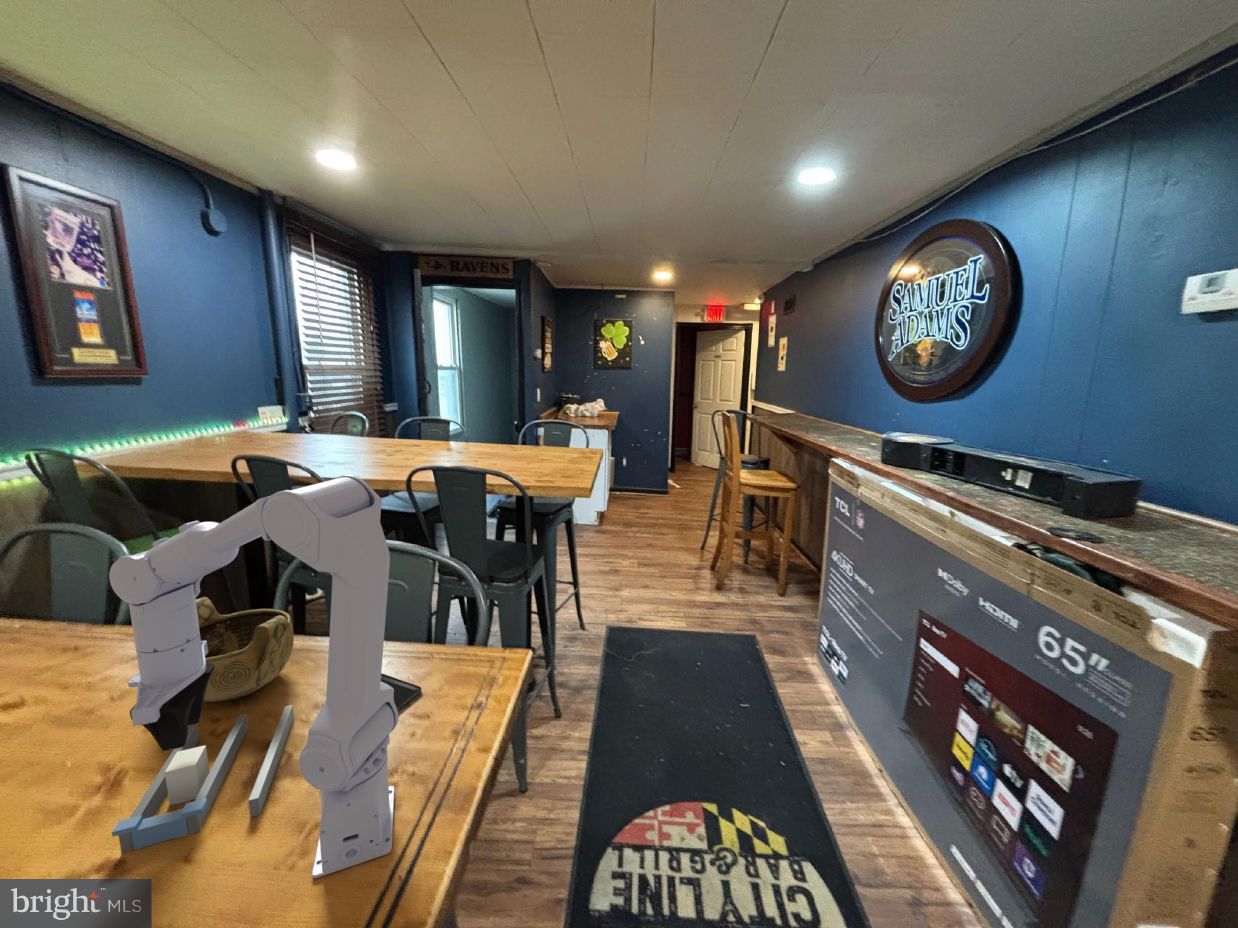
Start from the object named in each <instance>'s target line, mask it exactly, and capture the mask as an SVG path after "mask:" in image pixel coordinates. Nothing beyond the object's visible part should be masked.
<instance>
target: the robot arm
mask: <svg viewBox="0 0 1238 928" xmlns="http://www.w3.org/2000/svg"><path fill="white" fill-rule="evenodd" d="M381 509H382V498H381V497H380V495H379V494H378V493H376V491H375V490H374V489H373V488H372V487H371V486H370V485H369V484H368V483H367V482H366V481H365V480H364V479H362V478H360V477H359V476H356V475H351V474H344V475H340V476H337V477H335V478H334V479H333V478H332V479H330V480H326V481H322V482H318V483H314V484H311V485H307V486H303V487H298V488H295V489H291V490H290V489H285V490H282V491H281V490H280V491H277V492H275V493H273V494H271V495H269V496H265V497H262V498H259V499H256V501H255V502H253V503H252V504H250V505H248V506H247V507H245V508H243V509H242V510H240V511H238V512H237V513H235V514H233V515H232V516H230V517H229V518H227V519H225V520H223V521H222V522H218V521H217V522H216V521H203V522H200V521H199V520H195V521H191V522H187V523H184V524H182V525H180V526H179V527H178V531H179V533H176V534H175V535H173V536H172V537H164V538H161V539H160V538H159V539H157V540H156V541H154V542H153V543H152V547H151V548H149V550H146V551H142V552H139V553H135V554H129V555H123V556H120V557H118V559H117V560H116V561H115V562H114V563H112V565H111V567H110V570H109V574H108V575H109V583H110V586H111V588H112V590H113V592H114V593H115V594H116V596H118V597H119V599H121V600H122V601H124V602H125V603H128V607H129V613H130V621H131V627H132V632H133V639H134V646H135V652H136V658H137V665H138V666H137V667H138V671H139V673H136V674H135V675H133V676H132V677H130V678H131V679H129V681H127V686H128V688H135V687H137V693H136V694H137V695H136V702H135V704H134V705H133V706H132V708H131V709H130V710H129V717H130V719H131V721H132V726H133V727H137V726H142V727H144V728H145V729H146V730H147V731H148V732H149V733H150V735H152V738H153V739H154V740H155V742H156V743H157V745H158V746H159V748H160V749H161V750H162V752H166V751H170V750H171V751H173V750H174V749H176V748H181V747H183V746H184V745H185V743H186V740H187V736H188V727H189V726H192V725H198V724H199V722H200V721H201V718H202V713H203V708H204V702H205V701H204V697H205V692H206V688H207V685H208V682H209V679H210V677H211V675H212V673H213V671H214V669H215V665H214V664H212V663H209V664H206V660H205V656H206V654H207V653H208V647H207V641H201V639H200V631H199V623H198V615H197V607H196V599H197V597H198V596H199V595H200V593H201V587H200V586H201V581H202V580H203V578H204V576H207V575H208V574H211V573H213V572H215V571H217V570H219V569H221V568H223V567H225V566H227V565H229V564H230V563H231V562H233V561H234V560H235V558H236V557H237V556H238V554H239V551H240V547H241V546H243V545H246V544H248V543H249V542H252V541H254V540H256V539H258V538H260V537H262V539H263V540H264V541H267V542H268V541H271V540H272V542H274V543H275V544H276V545H277V546H279V547H280V548H281V549H283V550H284V551H285V552H288V553H289V554H290V555H292V556H294V557H295V558H297V559H298V560H300V561H301V562H303V563H305V564H306V565H308V567H310V568H312V569H314V570H315V571H317V572H323V573H328V574H330V576H331V577H332V578H331V579H332V580H331V582H332V583H331V601H330V619H329V620H330V621H329V622H330V623H329V640H328V657H327V658H328V660H327V661H328V662H327V679H326V694H325V696H326V700H325V701H324V703H323V705H322V707H321V708H320V709H319V712H318V713H317V715H316V717H315V718H314V720H313V722H312V723H311V724H310V727H309V729H308V731H307V732H308V733H307V741H306V744H305V746H304V747H303V748H302V750H301V752H300V754H299V759H298V760H299V761H298V762H299V763H298V764H299V767H300V772H301V775H302V776H303V778H304V779H305V781H306V782H307V783H308V784H309V785H310V786H312V787H314V789H317V790H319V791H320V792H319V793H320V804H321V819H320V822H319V829H318V832H319V837H318V843H317V848H316V853H315V856H314V862H313V867H312V872H311V876H312V878H314V879H318V878H320V877H323V876H326V875H329V874H331V873H334V872H338V871H341V870H344V869H347V868H349V867H353V866H356V865H358V864H362V863H364V862H367V861H370V860H373V859H376V858H379V857H382V856H385V855H388V854H389V853H390V852H391V851H392V847H393V828H394V827H393V826H394V811H395V810H394V809H395V786H394V785H389V768H388V767H389V765H388V750H387V749H388V746H389V745H390V734H391V733H392V732H394V729H396V727H397V725H398V723H399V713H398V710H397V708H396V705H395V703H394V689H393V688H392V687H391V686H389V685H387V684H386V683H383V682H381V673H382V668H383V658H384V657H383V656H384V641H385V631H386V630H385V628H386V618H387V602H388V590H389V578H390V577H389V576H390V564H391V563H390V562H391V557H390V555H391V554H390V550H389V547H388V543H387V540H386V536H385V533H384V530H383V527H382V524H381V511H382V510H381Z"/></svg>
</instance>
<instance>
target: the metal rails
mask: <svg viewBox="0 0 1238 928" xmlns="http://www.w3.org/2000/svg"><path fill="white" fill-rule="evenodd" d="M294 719H295V716H294V705H293V704H291V705H286V706H285V707H284V709H283V712H282V714H281V716H280V718H279V721H278V725H277V727H276V729H275V732H274V734H273V737H272V740H271V742H270V745H269V748H268V750H267V751H266V754H265V758H264V759H263V763H262V765H261V767H260V770H259V773H258V775H257V777H256V780H255V783H254V786H253V788H252V791H251V793H250V796H249V798H248V809H249V818H253V817H256V816H261V813H262V810H263V807H264V805H265V802H266V799H267V796H268V793H269V791H270V788H271V785H272V783H273V779H274V776H275V775H276V774H275V773H276V771H277V768H278V765H279V762H280V759H281V757H282V753H283V751H284V748H285V745H286V743H287V740H288V736H289V735H290V731H291V728H292V726H293V722H294ZM248 730H249V723H248V714H242V715H238V717H237V719H236V720H235V723H234V725H232V728H231V730H230V733H228V736H227V738H226V740H225V742H224V743H223V746H222V748H221V750H220V751H219V753H218V755H217V757H216V759H215V760H214V763H213V765H212V767H211V769H210V770H209V774H208V776H207V778H206V780H205V782H204V784H203V786H202V788H201V790H200V792H199V794H198V796H197V798H196V799H194V801H191V802H186V803H185V805H184V807H183V808H181V809H177V810H173V811H169V812H166V813H162V814H158V815H155V814H156V813H157V811H158V810H159V808H160V806H161V804H162V802H163V801H164V799H165V798H166V795H168V791H167V784H166V777H165V771H166V769H167V768H168V766H169V764H170V763H171V761H172V759H173V758H174V756H175V754H176V753H177V752H178V751H182V750H187V749H191V748H196V745H197V743H198V742H199V741H200V733H199V727H198V724H193V725H188V736H187V740H186V743H185V745H184V746H183V747H181V748H176V749H172V750H171V753H170V754H169V756H168V757H167V759H166V761H165V762H164V764H163V765H162V767H161V769H160V770H159V772H158V773H157V775H156V776H155V777H154V780H153V781H152V783H151V784H150V786H149V787H148V789H147V791H146V792H145V793H144V794H143V796H142V798H141V800H140V801H139V803H138V804H137V806H136V807H135V809H134V810H133V812H132V814H131V815H130V817H129V818H124V819H121V820H119V821H118V822H117V824H116V825H115V827H114V828H113V830H112V832H111V835H112V837H116V836H118V840H119V845H120V852H121V854H124V853H128V852H131V851H134V850H139V849H142V848H146V847H149V846H153V845H156V843H157V844H161V843H163V842H162V841H164V842H168V841H170V839H171V840H174V839H173V838H175V839H179V838H182V837H185V836H188V835H192V833H193V834H196V833H199V832H198V831H201V830H200V829H202V827H203V825H204V823H205V820H207V817H208V815H209V812H210V810H211V808H212V806H213V804H214V801H215V799H216V797H217V795H218V794H219V791H220V789H221V787H222V784H223V783H224V781H225V779H226V777H227V774H228V772H229V769H230V768H231V766H232V763H233V762H234V760H235V758H236V756H237V753H238V751H239V749H240V747H241V744H242V743H243V741H244V739H245V737H246V734H247V731H248ZM195 832H196V833H195ZM184 835H185V836H184ZM181 836H182V837H181ZM167 840H168V841H167Z"/></svg>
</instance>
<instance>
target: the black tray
mask: <svg viewBox="0 0 1238 928" xmlns="http://www.w3.org/2000/svg"><path fill="white" fill-rule="evenodd" d="M381 682H383V683H386V684H387V685H389V686H391V687H392V688H393V689H394V703H395V705H396V708H397V710H398V714H400V713H401V712H402V711H403V710H404V709H405V708H407V707H408V706H409V705H410V704H411V703H413V702H414V701H415V700H416V699H418V698H419V697H420V696H421V695H422V687H421V686H419V685H416V684H414V683H411V682H408V681H404V680H401V679H399V678H397V677H395V676H394V677H393V676H390V675H388V674H384V673H382V672H381Z"/></svg>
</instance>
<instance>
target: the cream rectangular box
mask: <svg viewBox="0 0 1238 928" xmlns="http://www.w3.org/2000/svg"><path fill="white" fill-rule="evenodd" d="M209 772H210V768H209V759H208V750H207V745H200V746H195V747H194V748H191V749H187V750H182V751H178V752H177V753H176V754H175V756H174V758H173V759H172V761H171V763H170V764H169V766H168V768H167V769H166V771H165V777H166V784H167V791H168V792H167V797H168V804H169V806H173V804H174V805H177V804H181V803H184V802H189V801H191V800H196V798H197V796H198V794H199V792H200V790H201V788H202V786H203V784H204V782H205V780H206V778H207V776H208V774H209Z"/></svg>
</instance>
